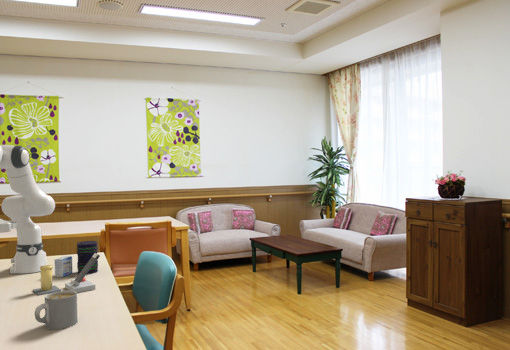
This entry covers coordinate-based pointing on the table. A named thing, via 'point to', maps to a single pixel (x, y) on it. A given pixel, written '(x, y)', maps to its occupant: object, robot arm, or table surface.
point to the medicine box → (63, 266)
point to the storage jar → (86, 255)
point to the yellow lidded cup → (46, 277)
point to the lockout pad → (39, 292)
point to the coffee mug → (58, 310)
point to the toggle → (86, 269)
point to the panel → (80, 286)
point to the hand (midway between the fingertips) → (18, 223)
